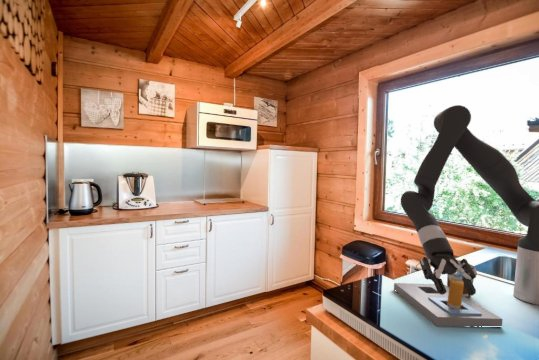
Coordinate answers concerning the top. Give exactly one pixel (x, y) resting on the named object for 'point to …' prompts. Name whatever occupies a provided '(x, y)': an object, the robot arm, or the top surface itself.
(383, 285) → the top surface
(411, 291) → the board
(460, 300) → the supplement box
